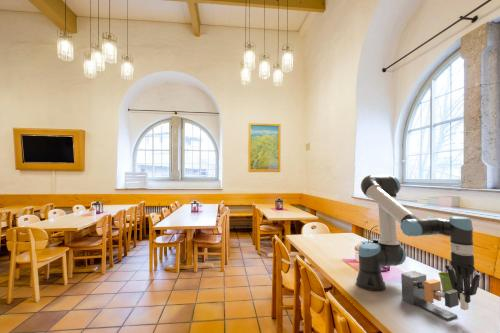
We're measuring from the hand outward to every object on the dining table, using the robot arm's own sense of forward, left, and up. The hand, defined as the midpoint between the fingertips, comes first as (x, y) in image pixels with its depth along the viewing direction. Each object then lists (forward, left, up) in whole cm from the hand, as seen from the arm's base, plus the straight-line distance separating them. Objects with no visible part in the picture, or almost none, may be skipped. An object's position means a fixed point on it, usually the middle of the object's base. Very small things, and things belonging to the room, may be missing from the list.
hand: (464, 308), depth 104 cm
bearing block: (-15, 0, -7) cm, 16 cm away
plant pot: (-22, +28, -7) cm, 36 cm away
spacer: (-13, 0, -2) cm, 13 cm away
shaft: (-11, 0, -1) cm, 11 cm away
